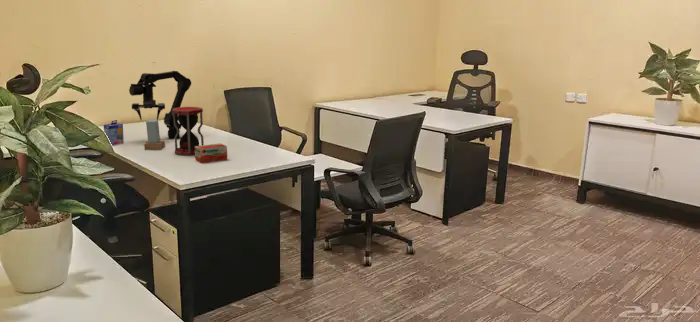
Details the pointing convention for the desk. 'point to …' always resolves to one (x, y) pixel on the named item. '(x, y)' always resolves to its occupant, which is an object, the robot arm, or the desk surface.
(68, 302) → the desk surface
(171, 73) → the robot arm
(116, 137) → the ink cartridge box
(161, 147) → the walnut block
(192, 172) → the desk surface
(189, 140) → the hourglass
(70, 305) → the desk surface
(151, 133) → the slate post
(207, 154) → the medicine box
